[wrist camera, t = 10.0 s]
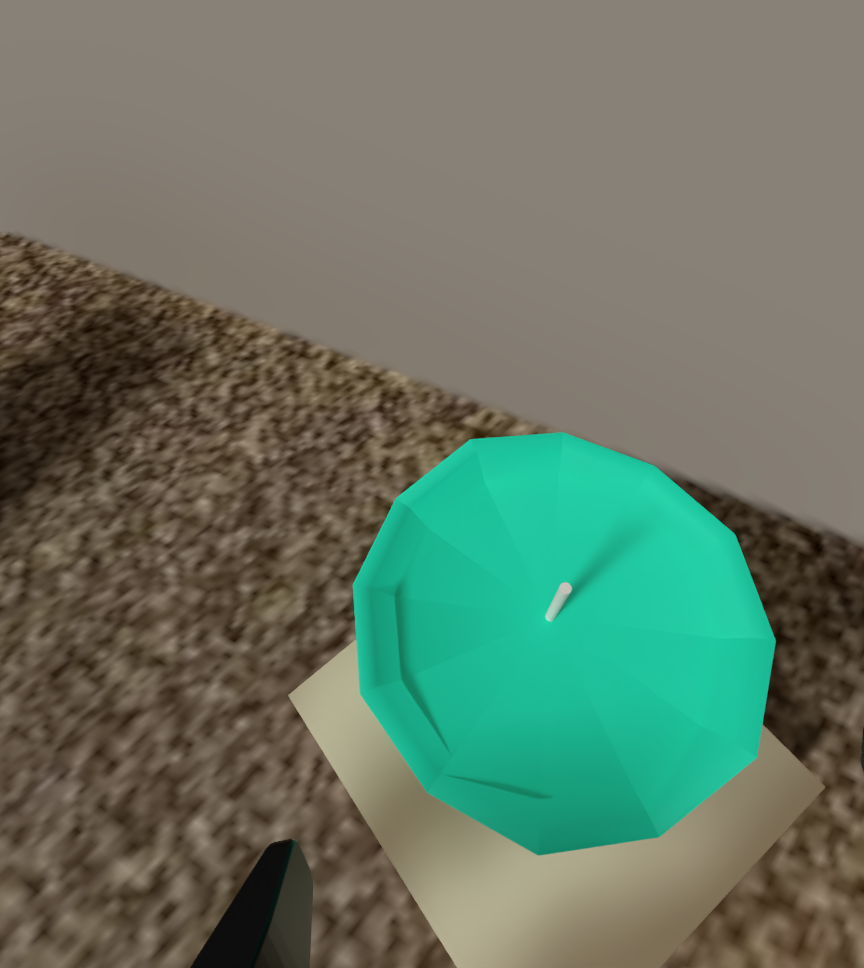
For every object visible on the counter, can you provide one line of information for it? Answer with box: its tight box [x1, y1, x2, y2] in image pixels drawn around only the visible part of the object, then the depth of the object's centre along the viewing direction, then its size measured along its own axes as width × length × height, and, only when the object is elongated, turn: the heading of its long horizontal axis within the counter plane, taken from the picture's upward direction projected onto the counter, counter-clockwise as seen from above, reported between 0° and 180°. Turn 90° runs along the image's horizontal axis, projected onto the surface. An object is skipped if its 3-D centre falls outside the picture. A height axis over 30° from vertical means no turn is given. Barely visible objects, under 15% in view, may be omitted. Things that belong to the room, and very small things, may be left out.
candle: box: [353, 433, 776, 856], centre depth 12 cm, size 6×6×12 cm
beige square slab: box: [288, 640, 825, 968], centre depth 17 cm, size 12×11×2 cm
